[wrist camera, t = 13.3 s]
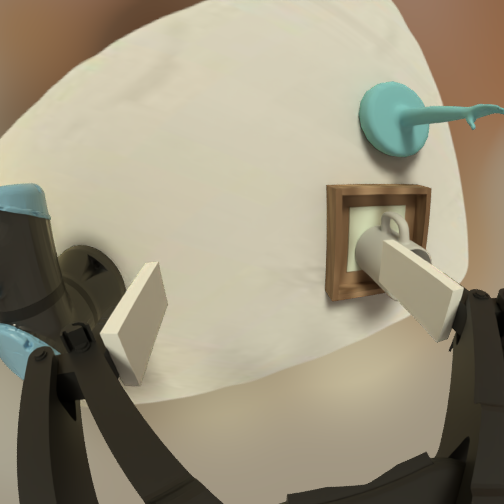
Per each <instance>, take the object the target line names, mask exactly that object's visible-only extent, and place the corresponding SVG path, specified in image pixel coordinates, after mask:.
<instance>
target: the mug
mask: <svg viewBox="0 0 504 504" xmlns="http://www.w3.org/2000/svg"><path fill="white" fill-rule="evenodd" d="M390 219H392V220H394V221H395V222H396V223H397V225H398V228H399V233H397V232H396V231H394V230H392V229H391V228H390ZM383 240H395V241H396V242H398V243H400V244H401V245H403V246H404V247H406V248H407V249H409V250H410V251H412V252H413V253H415V254H416V255H418V256H419V257H421V258H422V259H424V260H425V261H427V262H428V263H430V264H431V265H432V260H431V257H430V255H429V253H428V252H427V251H426V250H425V249H424V248H422V247H421V246H419V245H418V244H416V243H414V242H413V241H411V240H409V228H408V224H407V222H406V220H405V219H404V218H403V217H402V216H401V215H399V214H398V213H395V212H391V211H389V212H385V213H383V215H382V217H381V225H376V226H373V227H370V228H369V229H367V230H366V231H365V232H364V233H363V234H362V235H361V236H360V238H359V240H358V242H357V244H356V248H355V258H356V261H357V263H358V265H359V266H360V268H361V269H362V270H363V271H364V272H366V273H367V274H368V275H369V276H370V277H371V278H372V279H373V280H374V281H375V282H376V283H377V284H378V285H379V286H380V287H381V288H382V289H383V290H384V291H385V292H386V294H387V295H388V296H389V297H391V298H392V299H393V300H395V301H398V300H397V299H396V298H395V297H394V296H393V295H392V294H391V293H390V292H389V291H388V290H387V289H386V288H385V287H384V286H383V285H382V284H381V283H380V282H379V275H380V267H381V257H382V247H383Z"/></svg>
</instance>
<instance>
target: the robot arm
mask: <svg viewBox="0 0 504 504" xmlns="http://www.w3.org/2000/svg"><path fill="white" fill-rule="evenodd" d="M50 220H51V217H50V215H49V214H48V209H47V204H46V199H45V194H44V191H43V189H42V188H41V187H40V186H39V185H37V184H33V183H27V184H14V185H6V186H0V358H1V360H2V361H3V362H4V363H5V364H6V366H7V367H8V368H9V369H11V371H12V372H14V373H15V374H16V375H17V376H18V377H20V378H21V379H22V380H24V382H23V388H22V395H21V402H20V410H19V411H20V412H19V421H18V437H17V477H18V491H19V501H20V504H98V500H97V497H96V493H95V489H94V486H93V482H92V477H91V473H90V468H89V463H88V458H87V453H86V448H85V442H84V435H83V427H82V419H81V409H80V400H82V399H85V400H86V402H87V404H88V406H89V409H90V411H91V413H92V415H93V417H94V419H95V421H96V424H97V425H98V427H99V430H100V432H101V433H102V435H103V437H104V439H105V441H106V443H107V445H108V446H109V448H110V450H111V452H112V454H113V455H114V457H115V459H116V460H117V462H118V463H119V465H120V467H121V468H122V470H123V472H124V473H125V475H126V476H127V478H128V479H129V481H130V482H131V484H132V485H133V487H134V488H135V489H136V491H137V492H138V494H139V495H140V496H141V498H142V499H143V501H144V502H145V504H223V503H222V502H221V501H220V500H219V499H218V498H216V497H215V496H214V495H213V494H212V493H211V492H210V491H209V490H208V489H207V488H206V487H205V486H204V485H203V484H202V483H200V482H199V481H198V480H197V479H195V478H194V477H193V476H192V475H191V474H190V473H189V472H188V471H187V470H186V469H185V468H184V467H183V466H182V465H181V463H179V461H178V460H177V459H176V458H175V457H174V456H173V455H172V453H171V452H170V451H169V450H168V449H167V447H166V446H165V445H164V444H163V443H162V441H161V440H160V439H159V437H158V436H157V435H156V434H155V433H154V431H153V430H152V429H151V427H150V426H149V425H148V423H147V422H146V421H145V419H144V418H143V417H142V415H141V414H140V412H139V411H138V410H137V408H136V407H135V405H134V404H133V402H132V401H131V399H130V398H129V396H128V395H127V393H126V392H125V390H124V389H123V387H122V385H121V384H120V382H119V381H118V378H119V376H120V378H121V380H122V382H123V384H124V385H125V386H141V383H142V380H143V376H144V373H145V370H146V367H147V364H148V361H149V358H150V355H151V352H152V349H153V346H154V343H155V340H156V337H157V334H158V331H159V328H160V325H161V323H162V320H163V317H164V314H165V311H166V309H167V306H168V302H167V298H166V294H165V289H164V285H163V281H162V276H161V272H160V267H159V262H150V263H145V265H144V266H143V268H142V269H141V271H140V272H139V273H138V275H137V276H136V278H135V279H134V281H133V282H132V284H131V285H130V287H129V288H128V290H127V291H126V293H125V287H124V282H123V279H122V277H121V274H120V272H119V271H118V269H117V267H116V266H115V264H114V263H113V262H112V261H111V260H110V259H109V258H108V257H107V256H106V255H105V254H104V253H102V252H101V251H99V250H97V249H95V248H93V247H90V246H85V245H78V246H73V247H71V248H69V249H67V250H66V251H64V252H63V253H62V254H61V255H60V256H59V257H57V253H56V249H55V244H54V239H53V234H52V229H51V223H50ZM379 282H380V283H381V284H382V285H383V286H384V287H385V288H386V289H387V290H388V291H389V292H390V293H391V294H392V295H393V296H394V297H395V298H396V299H397V300H398V301H399V302H400V303H401V305H402V306H403V307H404V308H405V309H406V310H407V311H408V312H409V313H410V314H411V315H412V316H413V317H414V318H415V319H416V320H417V321H418V322H419V323H420V325H421V326H422V327H423V328H424V329H425V330H426V331H427V332H428V333H429V334H430V335H431V337H432V338H433V339H434V340H435V341H436V342H437V343H438V342H440V341H443V340H446V339H448V337H449V334H450V332H451V329H452V328H453V329H454V330H455V331H456V333H455V336H454V339H453V342H452V344H451V346H450V349H449V351H451V349H452V348H453V361H452V374H451V384H450V393H449V400H448V407H447V413H446V418H445V424H444V429H443V433H442V438H441V443H440V446H439V450H438V452H437V454H436V456H435V458H430V457H429V456H428V454H427V452H425V453H423V454H421V455H418V456H416V457H414V458H412V459H409V460H407V461H405V462H402V463H400V464H398V465H396V466H395V467H393V468H392V469H391V470H389V471H387V472H386V473H384V474H383V475H381V476H380V477H378V478H377V479H375V480H373V481H372V482H370V483H368V484H365V485H358V486H344V487H325V488H320V489H315V490H310V491H305V492H300V493H294V494H287V501H286V502H283V503H280V504H504V288H503V289H500V290H499V293H498V296H497V298H491V297H490V296H489V295H488V294H487V293H486V292H484V291H482V290H478V289H473V290H470V291H468V290H467V289H465V288H464V287H463V286H461V285H460V284H459V283H457V282H455V280H453V279H452V278H450V277H449V276H448V275H446V274H445V273H443V272H441V271H440V270H438V269H437V268H435V267H434V266H433V265H431V264H430V263H428V262H427V261H425V260H424V259H422V258H421V257H419V256H418V255H416V254H415V253H413V252H412V251H410V250H409V249H407V248H406V247H404V246H403V245H401V244H400V243H398V242H396V241H395V240H383V247H382V257H381V267H380V275H379Z"/></svg>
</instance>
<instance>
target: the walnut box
mask: <svg viewBox="0 0 504 504" xmlns="http://www.w3.org/2000/svg"><path fill="white" fill-rule="evenodd" d="M430 203H431V188H428V187H425V186H421V185H413V184H348V185H327V250H326V280H325V291H326V292H327V294H328V295H329V297H330V298H331V300H332V301H338V300H344V299H351V298H357V297H363V296H369V295H375V294H380V293H386V292H385V291H384V290H383V289H382V288H381V287H380V286H379V285H378V284H377V283H376V282H375V281H374V280H373V279H372V278H371V277H370V276H369V275H368V274H367V273H366V272H364V271H363V270H362V269H361V268H360V266H359V265H358V263H357V261H356V258H355V248H356V244H357V242H358V240H359V238H360V236H361V235H362V234H363V233H364V232H365V231H366V230H367V229H369V228H370V227H373V226H376V225H381V217H382V215H383V213H385V212H389V211H391V212H395V213H398V214H399V215H401V216H402V217H403V218H404V219H405V220H406V222H407V224H408V228H409V240H411V241H413V242H414V243H416V244H418V245H419V246H421V247H422V248H424V249H425V250H426V243H427V235H428V226H429V216H430ZM390 228H391V229H392V230H394V231H396V232H397V233H399V228H398V225H397V223H396V222H395V221H394V220H392V219H390Z"/></svg>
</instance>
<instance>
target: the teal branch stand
mask: <svg viewBox="0 0 504 504" xmlns="http://www.w3.org/2000/svg"><path fill="white" fill-rule="evenodd" d="M493 113H500V114H504V109H503V108H500V107H499V106H497V105H490V104H486V105H483V104H478V105H475V106H472V107H455V106H430V107H425V106H424V104H423V102H422V100H421V99H420V98H419V97H418V95H417V94H416V93H415V92H414V91H413V90H411V89H410V88H408V87H407V86H405V85H403V84H400V83H396V82H386V83H380V84H377V85H376V86H374V87H373V88H371V89H370V90H368V91H367V92H366V93H365V95H364V97H363V99H362V100H361V103H360V110H359V117H360V123H361V128H362V130H363V132H364V134H365V136H366V138H367V140H368V141H369V142H370V143H371V144H372V145H373V146H374V147H375V148H376V149H377V150H379V151H381V152H383V153H384V154H386V155H390V156H397V157H407V156H410V155H414V154H415V153H417V152H418V151H419V150H420V149H421V148H422V147H423V146H424V144H425V142H426V140H427V138H428V133H429V124H432V123H441V122H448V121H453V120H459V119H464V118H466V120H467V123H468V124H469V125H470V126H471V128H472V130H474V129H475V124H474V122H475V120H476V119H477V118H480V117H483V116H486V115H490V114H493Z"/></svg>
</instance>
